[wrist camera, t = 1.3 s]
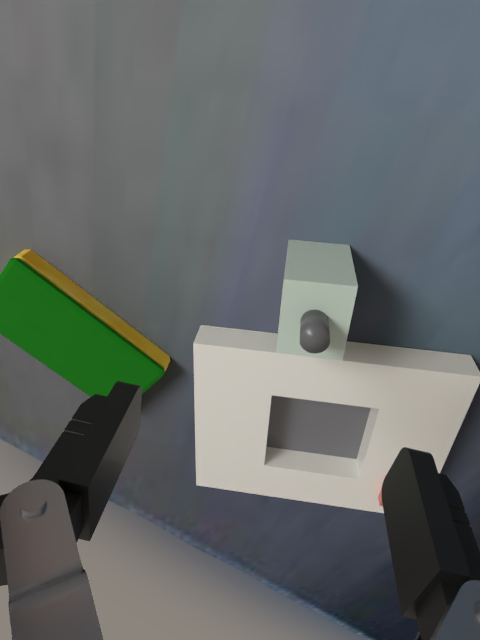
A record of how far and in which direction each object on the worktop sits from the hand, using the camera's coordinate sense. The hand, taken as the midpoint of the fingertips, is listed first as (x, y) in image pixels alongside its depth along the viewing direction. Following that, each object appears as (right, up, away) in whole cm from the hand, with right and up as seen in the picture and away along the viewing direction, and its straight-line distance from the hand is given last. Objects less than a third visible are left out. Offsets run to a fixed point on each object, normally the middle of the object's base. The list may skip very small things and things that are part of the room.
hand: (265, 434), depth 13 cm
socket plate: (+6, -5, +23) cm, 24 cm away
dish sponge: (-14, +3, +22) cm, 26 cm away
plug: (+4, +7, +16) cm, 18 cm away
